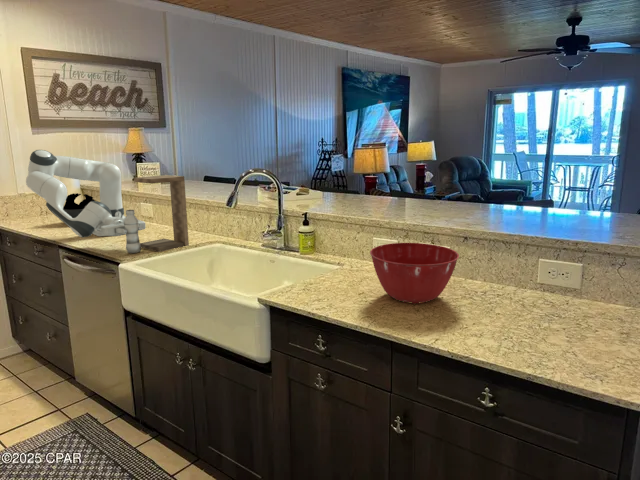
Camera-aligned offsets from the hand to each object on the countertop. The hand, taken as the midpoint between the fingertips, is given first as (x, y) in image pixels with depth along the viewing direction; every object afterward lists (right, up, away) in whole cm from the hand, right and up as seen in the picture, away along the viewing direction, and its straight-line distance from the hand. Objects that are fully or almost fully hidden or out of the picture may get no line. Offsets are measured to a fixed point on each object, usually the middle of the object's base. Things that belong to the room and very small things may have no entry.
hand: (132, 229), depth 224 cm
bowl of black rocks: (-63, +6, +81) cm, 103 cm away
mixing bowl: (+117, -24, -61) cm, 134 cm away
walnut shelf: (+9, -8, +14) cm, 19 cm away
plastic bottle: (-1, -11, +3) cm, 11 cm away
